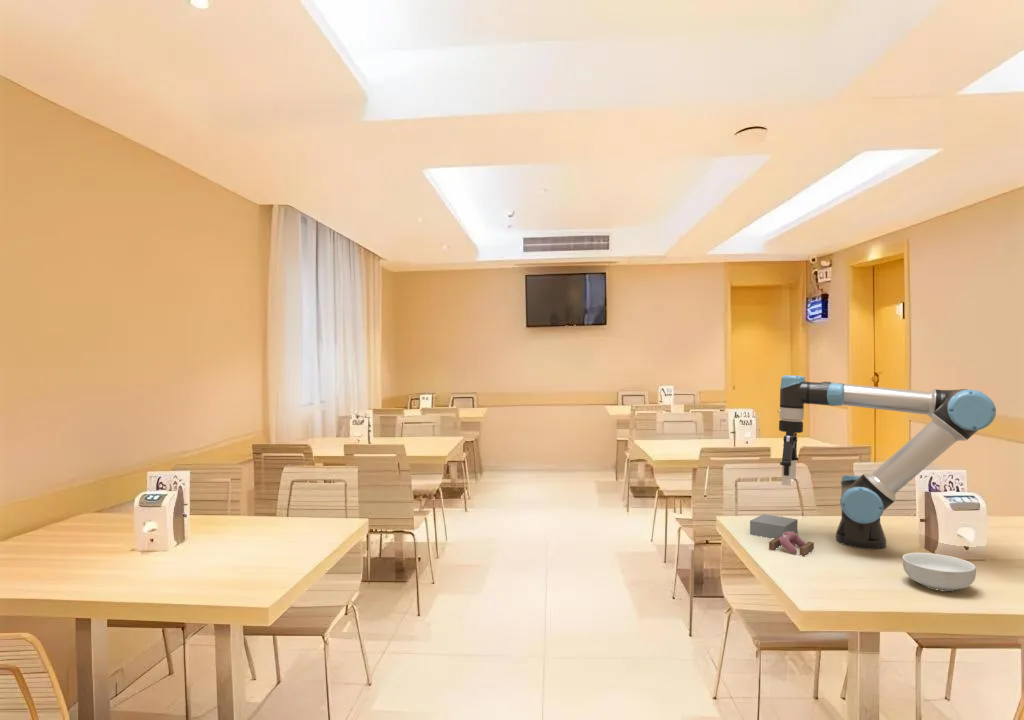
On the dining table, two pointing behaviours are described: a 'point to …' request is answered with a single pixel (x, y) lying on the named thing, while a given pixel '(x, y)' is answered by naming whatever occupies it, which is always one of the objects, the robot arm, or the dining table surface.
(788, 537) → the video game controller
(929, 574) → the cereal bowl
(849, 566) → the dining table surface
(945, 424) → the robot arm
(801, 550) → the walnut guide rails
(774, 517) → the charcoal stand
